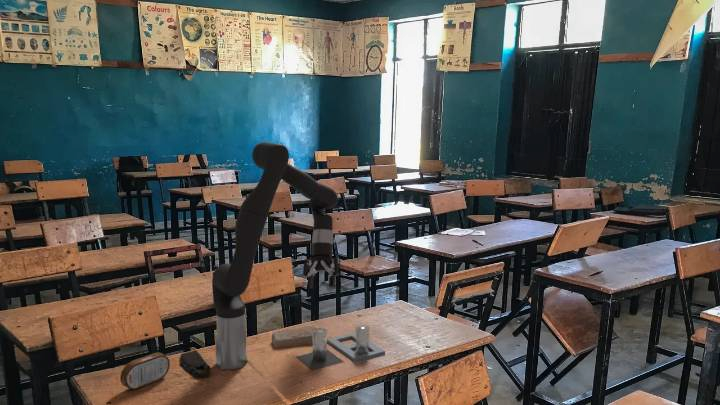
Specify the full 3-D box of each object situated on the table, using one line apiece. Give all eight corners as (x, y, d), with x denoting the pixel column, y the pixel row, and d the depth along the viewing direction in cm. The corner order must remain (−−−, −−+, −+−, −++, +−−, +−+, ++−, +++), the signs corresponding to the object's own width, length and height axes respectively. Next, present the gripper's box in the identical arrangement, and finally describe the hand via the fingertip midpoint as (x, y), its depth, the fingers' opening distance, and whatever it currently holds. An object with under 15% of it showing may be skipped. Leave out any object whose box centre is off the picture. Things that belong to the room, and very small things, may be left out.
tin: (166, 373, 170) (165, 348, 169) (172, 376, 168) (170, 350, 167) (120, 391, 158) (118, 364, 157) (126, 394, 156) (124, 367, 155)
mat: (311, 373, 170) (311, 370, 170) (295, 359, 180) (295, 356, 180) (344, 364, 177) (344, 361, 176) (326, 351, 187) (326, 348, 186)
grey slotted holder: (355, 364, 176) (355, 359, 176) (327, 344, 192) (327, 339, 192) (384, 356, 183) (385, 351, 183) (355, 337, 199) (355, 332, 198)
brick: (275, 351, 187) (275, 338, 186) (271, 342, 195) (270, 330, 194) (321, 346, 192) (321, 333, 192) (315, 337, 200) (315, 325, 199)
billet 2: (360, 359, 181) (360, 331, 179) (353, 354, 185) (353, 326, 183) (371, 356, 183) (371, 328, 182) (364, 351, 187) (364, 324, 186)
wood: (173, 357, 182) (172, 348, 182) (195, 352, 186) (194, 343, 186) (190, 384, 164) (190, 375, 163) (214, 378, 168) (214, 369, 167)
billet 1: (316, 363, 175) (316, 334, 174) (310, 358, 179) (309, 329, 177) (328, 360, 178) (328, 331, 176) (322, 355, 181) (322, 326, 180)
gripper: (300, 242, 196) (298, 287, 192) (334, 240, 190) (333, 286, 186) (311, 245, 203) (309, 289, 199) (344, 243, 196) (343, 288, 193)
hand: (321, 287), depth 192 cm, fingers open, 8 cm apart
